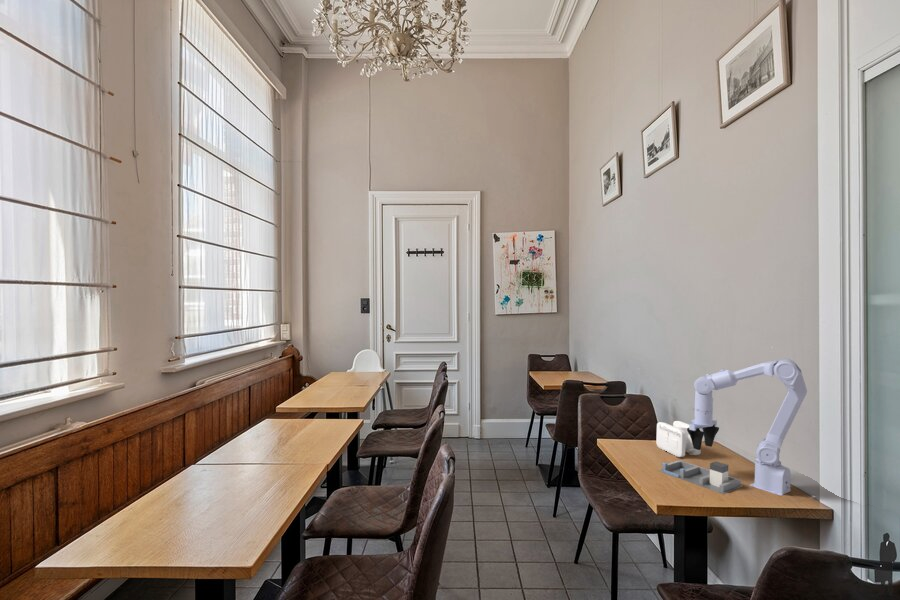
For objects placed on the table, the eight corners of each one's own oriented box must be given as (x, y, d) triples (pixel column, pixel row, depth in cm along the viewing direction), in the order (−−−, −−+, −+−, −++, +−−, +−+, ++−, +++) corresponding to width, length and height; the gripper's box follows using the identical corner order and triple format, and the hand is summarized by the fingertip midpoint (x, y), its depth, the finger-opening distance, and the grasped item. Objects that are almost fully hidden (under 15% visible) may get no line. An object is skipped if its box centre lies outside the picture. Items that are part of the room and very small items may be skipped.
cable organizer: (702, 458, 182) (703, 429, 182) (680, 460, 179) (681, 430, 179) (675, 446, 197) (676, 419, 196) (654, 447, 194) (655, 420, 194)
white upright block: (727, 485, 154) (728, 465, 154) (721, 488, 151) (722, 467, 151) (715, 481, 157) (716, 461, 157) (709, 483, 155) (710, 463, 155)
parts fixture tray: (743, 487, 154) (743, 477, 154) (723, 496, 147) (723, 485, 147) (677, 465, 173) (678, 456, 173) (657, 472, 166) (657, 462, 166)
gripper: (703, 405, 172) (702, 441, 172) (681, 409, 165) (680, 447, 165) (722, 409, 166) (722, 446, 166) (700, 414, 159) (700, 453, 159)
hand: (702, 447), depth 165 cm, fingers open, 7 cm apart
